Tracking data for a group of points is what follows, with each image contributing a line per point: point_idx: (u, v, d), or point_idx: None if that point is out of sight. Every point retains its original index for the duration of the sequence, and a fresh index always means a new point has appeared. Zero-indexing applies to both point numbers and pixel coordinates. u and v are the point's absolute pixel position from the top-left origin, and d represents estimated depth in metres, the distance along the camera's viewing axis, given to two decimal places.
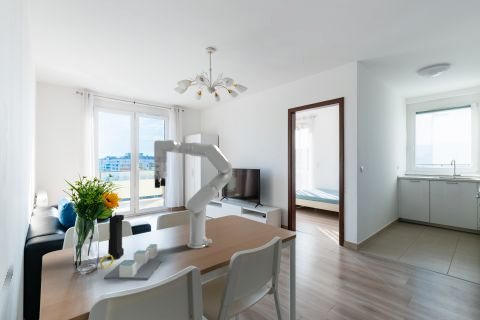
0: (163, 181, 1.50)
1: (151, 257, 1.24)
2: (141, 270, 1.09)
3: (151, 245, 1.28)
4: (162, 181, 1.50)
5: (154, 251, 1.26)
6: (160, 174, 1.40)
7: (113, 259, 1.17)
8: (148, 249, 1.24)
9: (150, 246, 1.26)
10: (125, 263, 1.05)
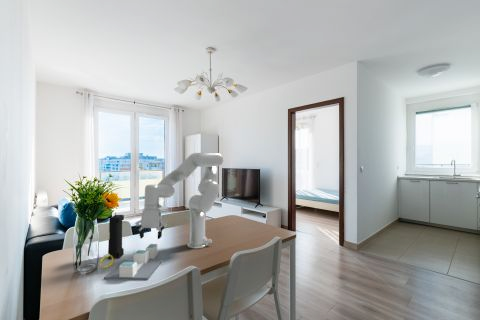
0: (143, 231, 1.27)
1: (151, 257, 1.24)
2: (141, 270, 1.09)
3: (151, 245, 1.28)
4: (142, 232, 1.27)
5: (154, 251, 1.26)
6: None
7: (113, 259, 1.17)
8: (148, 249, 1.24)
9: (150, 246, 1.26)
10: (125, 263, 1.05)
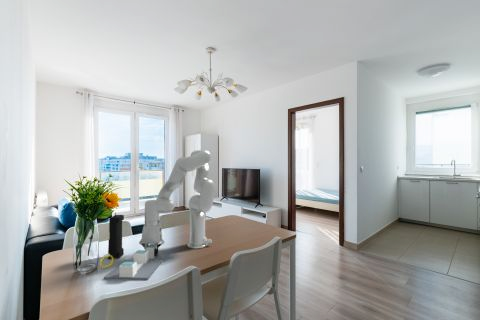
0: None
1: (151, 257, 1.24)
2: (141, 270, 1.09)
3: (151, 245, 1.27)
4: None
5: None
6: (161, 237, 1.29)
7: (113, 259, 1.17)
8: (148, 249, 1.24)
9: (150, 246, 1.26)
10: (125, 263, 1.05)
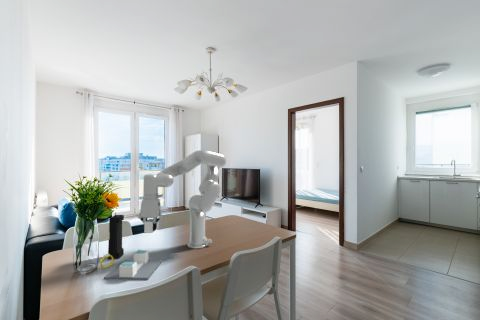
0: None
1: (149, 231, 1.23)
2: (141, 270, 1.09)
3: (150, 219, 1.26)
4: None
5: None
6: (160, 212, 1.28)
7: (113, 259, 1.17)
8: (147, 223, 1.23)
9: (149, 220, 1.25)
10: (125, 263, 1.05)
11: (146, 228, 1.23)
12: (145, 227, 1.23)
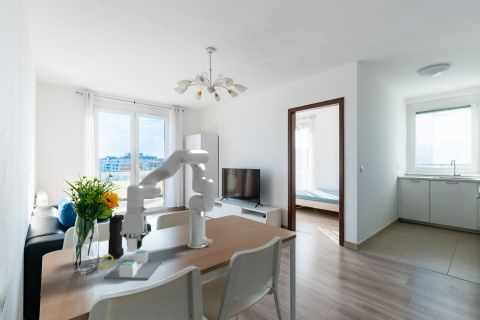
0: None
1: (133, 249, 1.08)
2: (141, 270, 1.09)
3: (134, 236, 1.12)
4: None
5: None
6: (146, 227, 1.13)
7: (113, 259, 1.17)
8: (130, 240, 1.08)
9: (132, 237, 1.10)
10: (125, 263, 1.05)
11: (129, 246, 1.08)
12: (128, 245, 1.08)
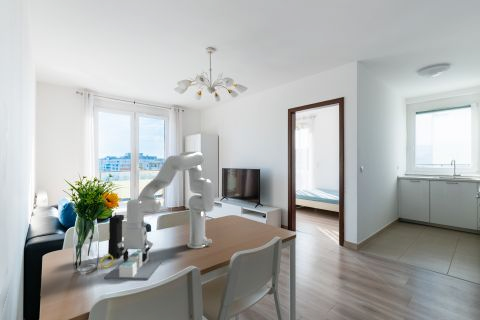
0: (127, 253, 1.12)
1: None
2: (141, 270, 1.09)
3: (135, 253, 1.12)
4: (126, 254, 1.12)
5: (138, 260, 1.10)
6: None
7: (113, 259, 1.17)
8: (131, 258, 1.09)
9: (133, 255, 1.11)
10: (125, 263, 1.05)
11: None
12: None
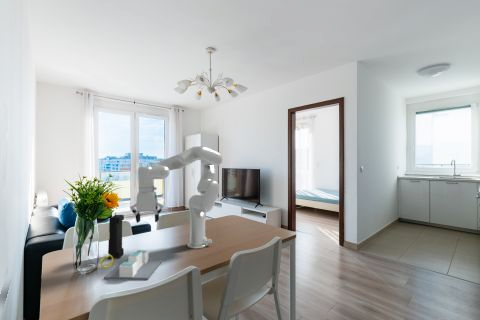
0: (139, 216, 1.22)
1: None
2: (141, 270, 1.09)
3: (135, 253, 1.12)
4: (138, 216, 1.21)
5: (138, 260, 1.10)
6: None
7: (113, 259, 1.17)
8: (131, 258, 1.09)
9: (133, 255, 1.11)
10: (125, 263, 1.05)
11: None
12: None
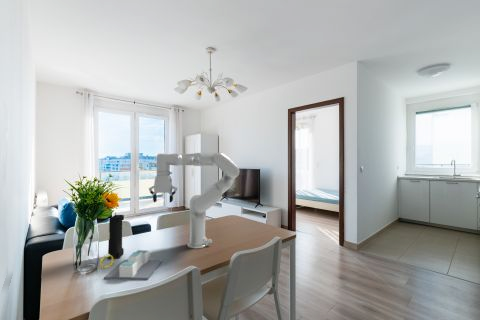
0: (156, 196, 1.40)
1: None
2: (141, 270, 1.09)
3: (135, 253, 1.12)
4: (155, 196, 1.39)
5: (138, 260, 1.10)
6: None
7: (113, 259, 1.17)
8: (131, 258, 1.09)
9: (133, 255, 1.11)
10: (125, 263, 1.05)
11: None
12: None
